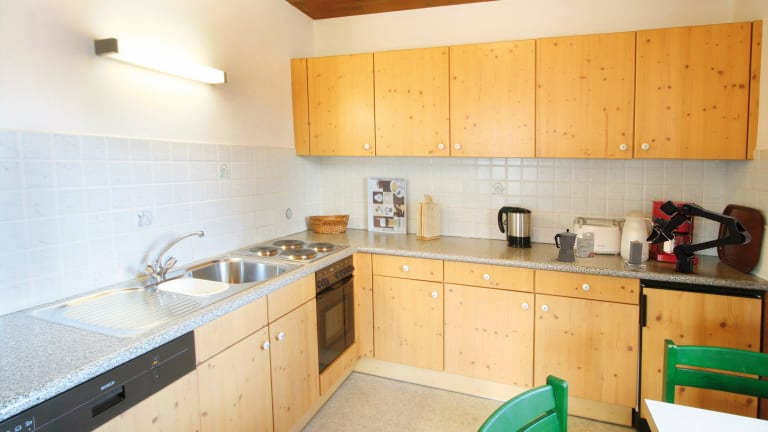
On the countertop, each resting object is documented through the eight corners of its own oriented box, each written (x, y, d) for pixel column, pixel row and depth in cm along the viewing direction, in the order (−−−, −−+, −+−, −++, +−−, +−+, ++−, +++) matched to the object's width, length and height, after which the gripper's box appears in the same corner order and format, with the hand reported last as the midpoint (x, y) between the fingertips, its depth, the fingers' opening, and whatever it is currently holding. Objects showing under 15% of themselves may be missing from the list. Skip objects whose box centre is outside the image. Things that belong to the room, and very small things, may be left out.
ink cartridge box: (587, 255, 266) (589, 230, 264) (593, 256, 261) (595, 232, 259) (575, 255, 263) (576, 231, 262) (581, 257, 259) (582, 232, 257)
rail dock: (640, 267, 236) (641, 261, 236) (645, 271, 227) (646, 265, 227) (623, 266, 239) (624, 260, 238) (628, 270, 230) (628, 264, 229)
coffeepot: (569, 257, 259) (571, 226, 257) (581, 261, 251) (583, 229, 248) (547, 259, 254) (549, 228, 252) (559, 263, 245) (561, 231, 243)
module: (638, 265, 235) (640, 239, 233) (640, 268, 230) (642, 241, 228) (628, 265, 236) (630, 239, 234) (631, 267, 231) (633, 241, 229)
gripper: (657, 209, 239) (633, 228, 243) (669, 213, 221) (642, 234, 225) (673, 224, 237) (648, 243, 242) (686, 229, 220) (658, 250, 224)
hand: (648, 242), depth 233 cm, fingers open, 9 cm apart
